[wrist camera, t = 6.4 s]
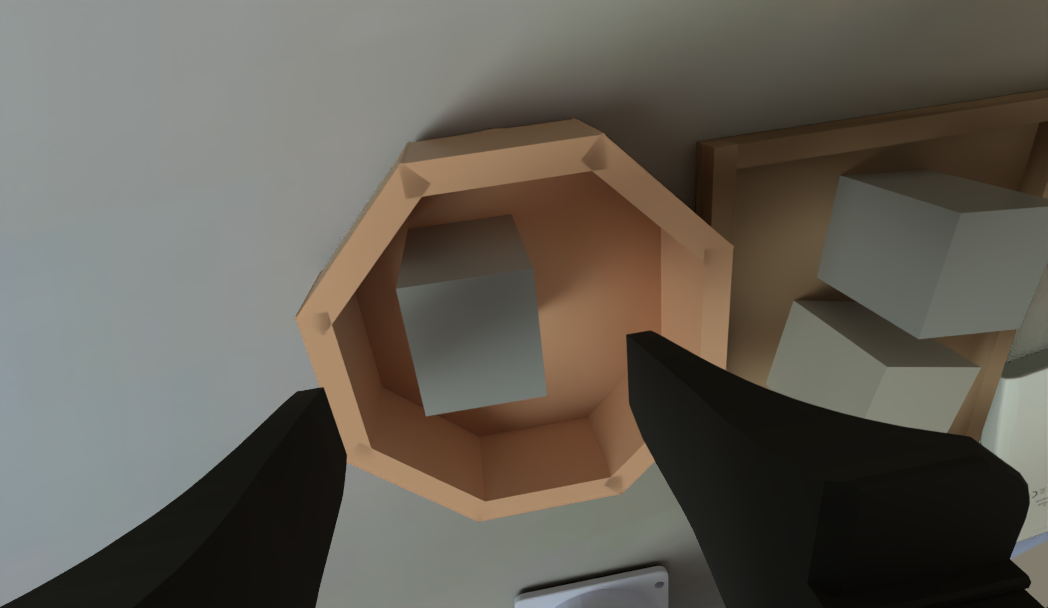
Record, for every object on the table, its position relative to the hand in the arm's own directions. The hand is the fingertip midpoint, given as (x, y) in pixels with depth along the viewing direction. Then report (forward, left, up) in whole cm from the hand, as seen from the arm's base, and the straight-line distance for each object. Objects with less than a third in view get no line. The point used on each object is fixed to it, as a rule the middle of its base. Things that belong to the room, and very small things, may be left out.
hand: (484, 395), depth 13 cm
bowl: (-1, -1, -8) cm, 8 cm away
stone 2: (0, -15, -7) cm, 17 cm away
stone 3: (-5, -14, -7) cm, 16 cm away
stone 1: (0, 0, -7) cm, 7 cm away
